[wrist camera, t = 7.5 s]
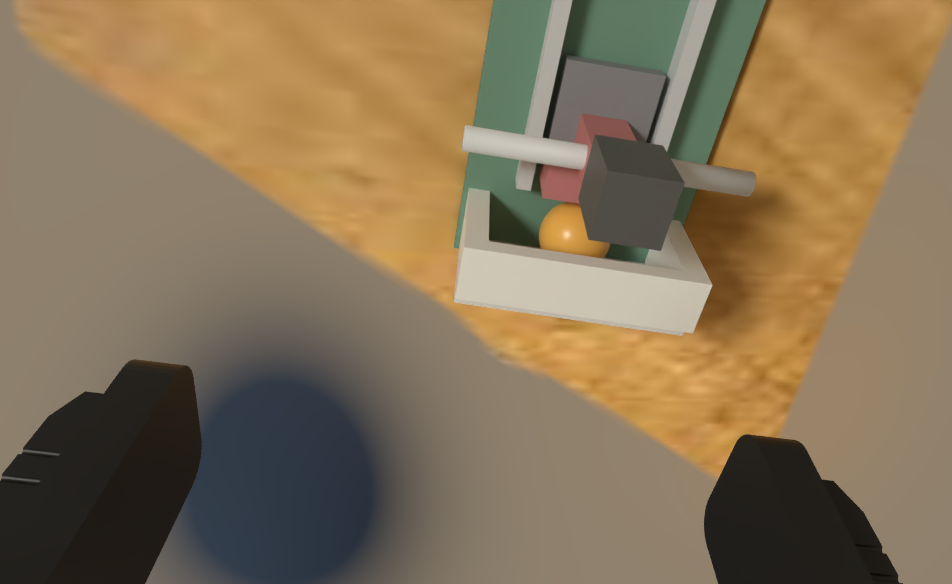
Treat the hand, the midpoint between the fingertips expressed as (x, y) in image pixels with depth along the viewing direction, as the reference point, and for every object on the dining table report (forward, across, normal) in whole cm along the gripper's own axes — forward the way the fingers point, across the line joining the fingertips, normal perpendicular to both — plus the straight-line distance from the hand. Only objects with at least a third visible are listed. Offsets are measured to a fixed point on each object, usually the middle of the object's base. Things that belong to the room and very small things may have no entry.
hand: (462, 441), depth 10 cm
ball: (+26, -6, +10) cm, 29 cm away
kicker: (+29, -6, +4) cm, 30 cm away
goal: (+29, -6, +10) cm, 31 cm away
